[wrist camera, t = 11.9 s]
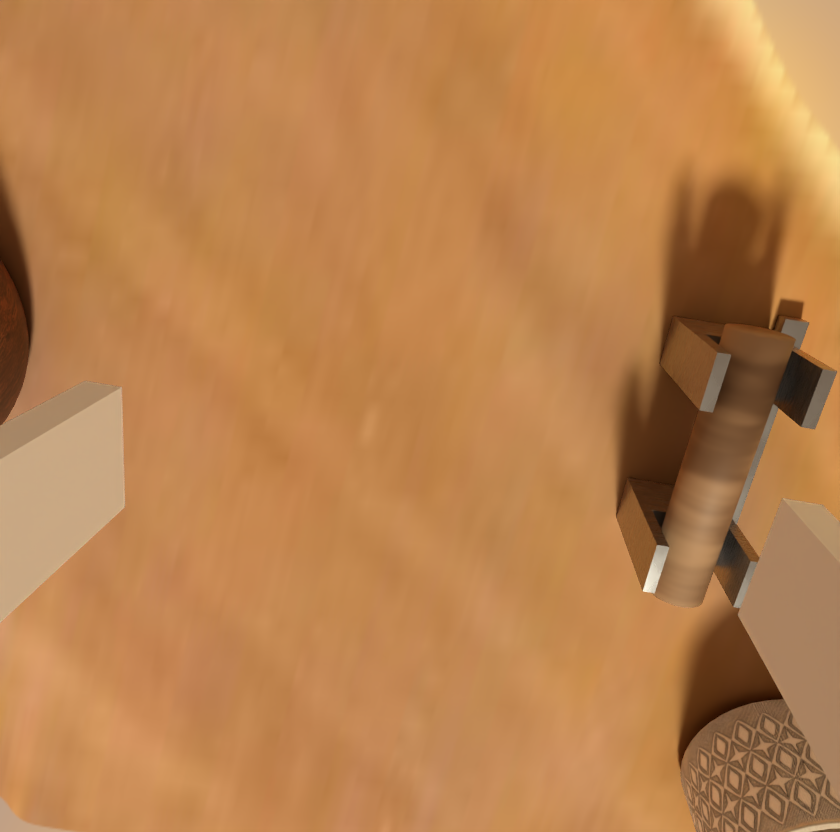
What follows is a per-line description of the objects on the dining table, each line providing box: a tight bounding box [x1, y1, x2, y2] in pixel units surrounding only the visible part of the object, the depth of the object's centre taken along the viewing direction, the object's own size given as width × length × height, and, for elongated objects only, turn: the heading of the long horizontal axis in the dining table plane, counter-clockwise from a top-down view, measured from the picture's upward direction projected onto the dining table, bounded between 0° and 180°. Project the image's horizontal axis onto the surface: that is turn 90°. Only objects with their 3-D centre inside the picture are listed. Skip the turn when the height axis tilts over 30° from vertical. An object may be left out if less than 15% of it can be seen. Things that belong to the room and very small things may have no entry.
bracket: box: [616, 315, 837, 608], centre depth 46 cm, size 19×9×10 cm, turn 172°
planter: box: [680, 699, 840, 832], centre depth 55 cm, size 16×16×13 cm
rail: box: [652, 323, 796, 608], centre depth 44 cm, size 19×4×4 cm
